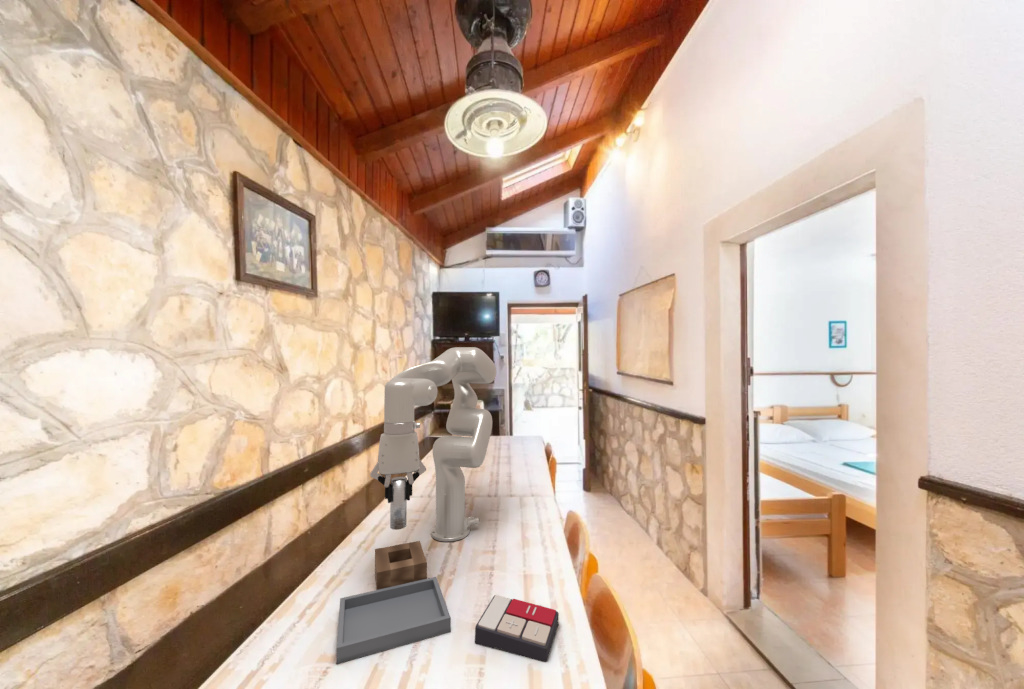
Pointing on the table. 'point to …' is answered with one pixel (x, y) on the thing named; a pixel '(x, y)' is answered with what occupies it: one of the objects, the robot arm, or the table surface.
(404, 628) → the tray
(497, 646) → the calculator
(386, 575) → the block
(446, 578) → the table surface
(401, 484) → the pin
